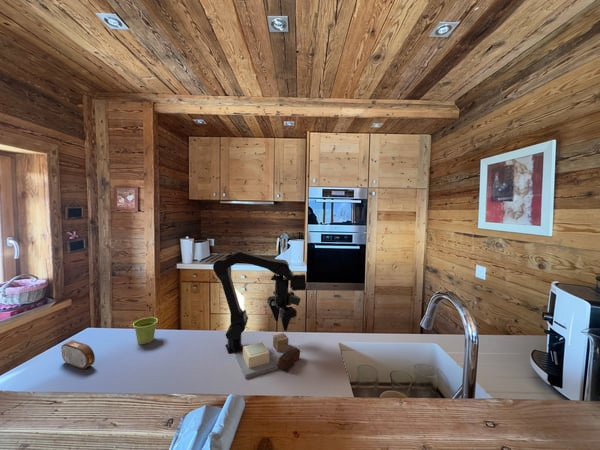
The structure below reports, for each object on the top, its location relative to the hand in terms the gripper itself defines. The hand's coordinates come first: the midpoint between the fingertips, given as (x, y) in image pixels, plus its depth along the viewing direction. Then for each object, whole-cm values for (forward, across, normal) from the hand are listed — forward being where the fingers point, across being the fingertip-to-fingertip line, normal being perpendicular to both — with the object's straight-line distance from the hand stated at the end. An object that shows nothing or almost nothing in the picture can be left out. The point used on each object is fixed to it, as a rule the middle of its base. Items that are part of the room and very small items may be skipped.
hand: (280, 325), depth 107 cm
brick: (+10, -12, +1) cm, 16 cm away
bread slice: (+10, +21, +73) cm, 77 cm away
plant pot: (+10, +30, +52) cm, 61 cm away
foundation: (+10, -6, +13) cm, 17 cm away
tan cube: (+10, 0, 0) cm, 10 cm away
